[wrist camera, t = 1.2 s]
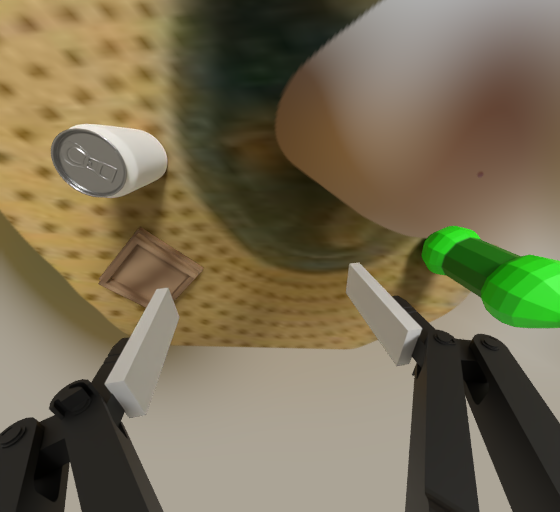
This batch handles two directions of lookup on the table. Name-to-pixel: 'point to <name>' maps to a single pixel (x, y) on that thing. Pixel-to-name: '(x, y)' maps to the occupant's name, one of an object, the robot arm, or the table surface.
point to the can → (107, 159)
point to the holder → (148, 269)
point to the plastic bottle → (498, 277)
